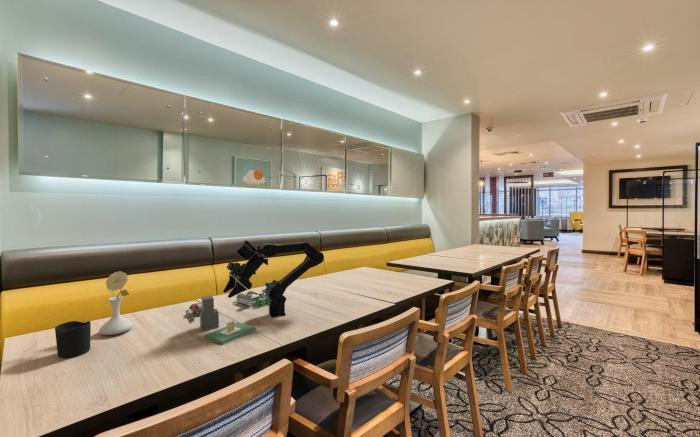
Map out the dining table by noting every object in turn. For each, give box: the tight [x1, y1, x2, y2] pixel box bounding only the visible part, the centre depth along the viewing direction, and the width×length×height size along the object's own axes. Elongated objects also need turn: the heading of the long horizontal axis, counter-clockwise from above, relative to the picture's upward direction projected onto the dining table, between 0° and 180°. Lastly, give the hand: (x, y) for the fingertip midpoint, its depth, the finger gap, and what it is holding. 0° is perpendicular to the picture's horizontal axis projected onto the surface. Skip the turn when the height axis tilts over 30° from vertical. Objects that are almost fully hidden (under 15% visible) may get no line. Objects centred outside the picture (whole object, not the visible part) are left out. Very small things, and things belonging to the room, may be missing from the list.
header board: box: [203, 320, 257, 345], centre depth 131 cm, size 16×11×5 cm
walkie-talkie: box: [187, 302, 202, 322], centre depth 154 cm, size 9×4×20 cm
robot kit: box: [236, 281, 272, 308], centre depth 175 cm, size 19×25×9 cm
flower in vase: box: [98, 270, 134, 336], centre depth 132 cm, size 13×11×25 cm
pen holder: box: [54, 320, 92, 359], centre depth 114 cm, size 9×9×10 cm
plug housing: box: [199, 295, 220, 331], centre depth 138 cm, size 7×4×12 cm
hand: (226, 294), depth 141 cm, fingers open, 9 cm apart
